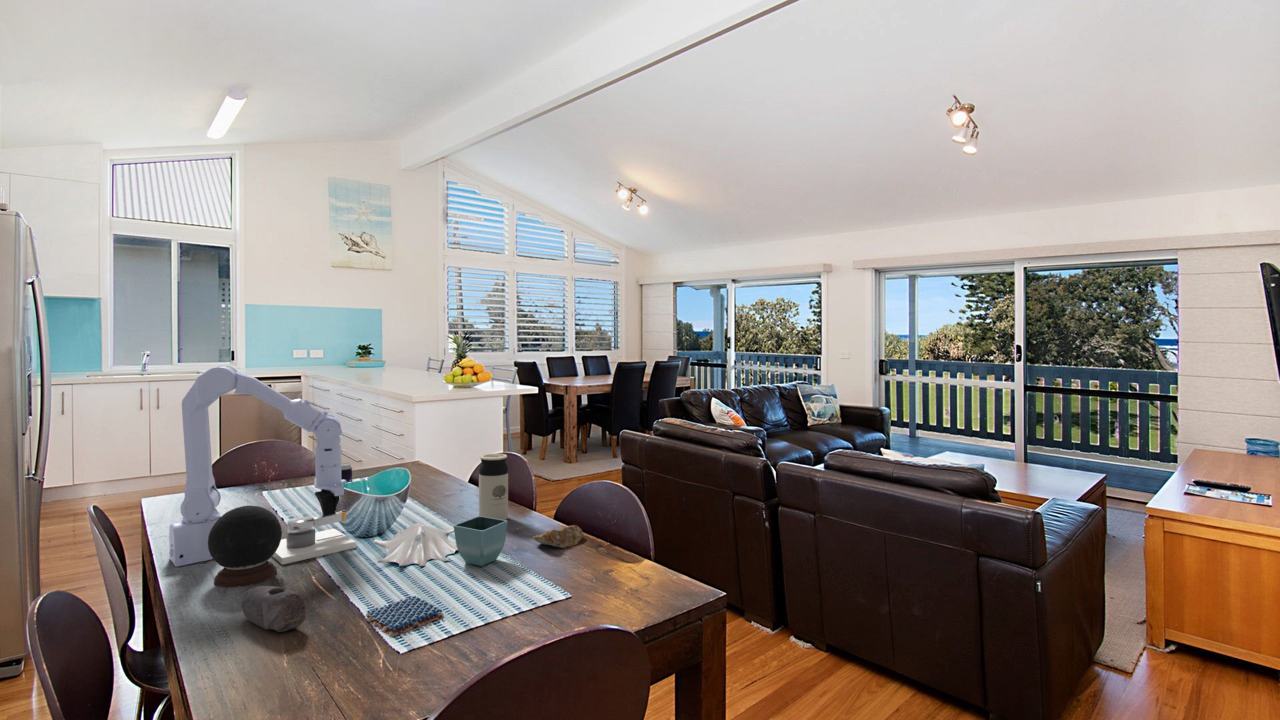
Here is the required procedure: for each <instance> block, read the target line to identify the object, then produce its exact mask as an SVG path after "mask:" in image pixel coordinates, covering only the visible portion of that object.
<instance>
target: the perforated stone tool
mask: <svg viewBox="0 0 1280 720" xmlns="http://www.w3.org/2000/svg"><path fill="white" fill-rule="evenodd" d="M240 603H241V604H240V608H241V611H242V613H243V615H244V617H245V618H246V619H247V620H248V621H249V622H250V623H254V625H256V626H258V627H260V628H262V629H264V630H267V631H269V630H270V631H271V630H273V631H275V632H278V633H285V632H288V631H289V630H292V629H296V628H299V626H301V624H303V623H304V621H305V620H306V618H307V605H306V600H305V598H304V597H303V596H302V594H299V593H297V592H296V591H293V590H291V589H289V588H286V587H281V586H272V585H258V586H254V587H251V588H250V589H247V590H246V591H245V592H244V593H243V595H242V598H241V601H240Z"/></svg>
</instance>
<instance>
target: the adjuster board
mask: <svg viewBox="0 0 1280 720" xmlns="http://www.w3.org/2000/svg"><path fill="white" fill-rule="evenodd" d="M285 534H286V536H285V537H286V538H281V541H280V544H279V547H278V549H277V550H276V552H275V553H274V554H273V556H272V558H274V559H275V560H276V561H277V562H279V563H280V564H281V565H287V564H292V563H297V562H301V561H304V560H307V559H309V560H310V559H313V558H317V557H321V556H322V557H323V556H326V555H330V554H334V553H335V554H336V553H339V552H343V551H347V550H352V549H356V548H357V541H356V540H354V539H352V538H351V537H349V536H348V535H346V534H345V533H343V532H341V531H339V530H337V529H336V528H331V529H325V530H321V531H317V532H316V529H315V528H314V530H313V531H311V532H308V533H303V534H289V533H287V532H286V533H285Z"/></svg>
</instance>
